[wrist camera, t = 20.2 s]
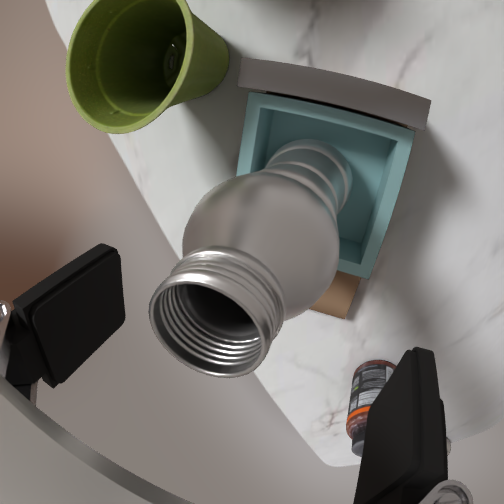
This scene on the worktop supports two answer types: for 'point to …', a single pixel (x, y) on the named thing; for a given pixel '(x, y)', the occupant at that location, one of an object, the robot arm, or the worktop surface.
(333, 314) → the rail base
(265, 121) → the teal open box
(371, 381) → the supplement bottle
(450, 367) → the worktop surface
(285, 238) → the plastic bottle
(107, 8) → the plant pot
